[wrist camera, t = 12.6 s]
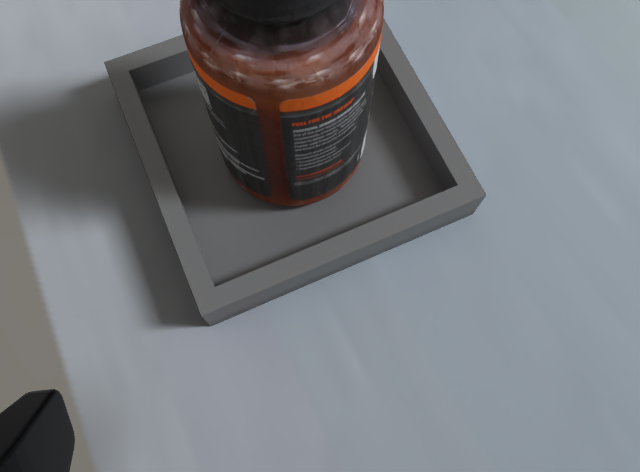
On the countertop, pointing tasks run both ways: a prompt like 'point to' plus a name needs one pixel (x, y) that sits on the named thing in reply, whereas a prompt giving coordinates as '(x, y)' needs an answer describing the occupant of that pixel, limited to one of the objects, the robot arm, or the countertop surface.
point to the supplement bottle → (286, 89)
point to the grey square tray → (277, 220)
